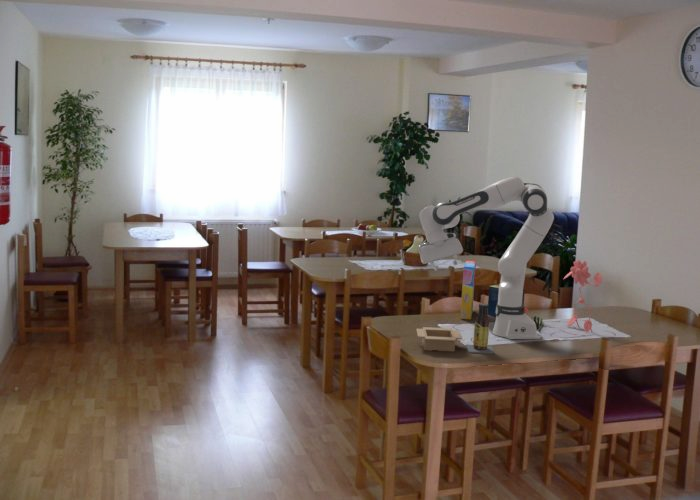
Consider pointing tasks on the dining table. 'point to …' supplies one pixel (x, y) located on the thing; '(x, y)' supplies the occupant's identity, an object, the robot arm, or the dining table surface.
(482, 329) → the sauce bottle
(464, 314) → the game box
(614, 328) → the dining table surface
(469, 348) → the mat
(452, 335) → the carton
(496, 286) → the protein box
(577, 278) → the pink blossom sprig
